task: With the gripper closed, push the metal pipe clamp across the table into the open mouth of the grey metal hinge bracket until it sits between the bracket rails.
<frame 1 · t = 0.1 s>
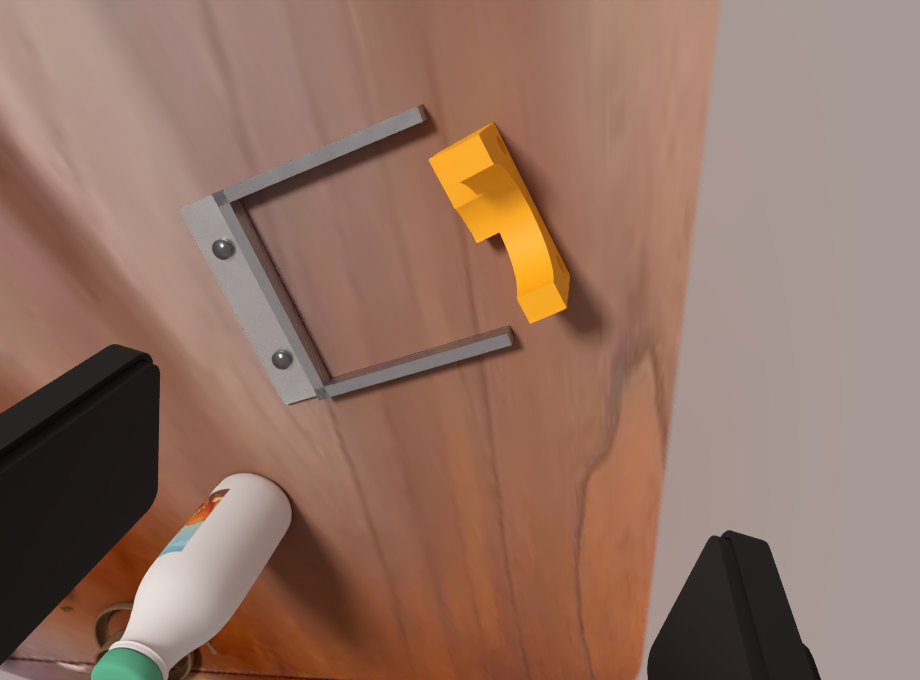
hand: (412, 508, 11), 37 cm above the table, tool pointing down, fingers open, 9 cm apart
place setting: (134, 607, 73), on the table
hinge bracket: (368, 264, 50), on the table
pipe clamp: (506, 214, 47), on the table
milk bottle: (257, 502, 62), on the table
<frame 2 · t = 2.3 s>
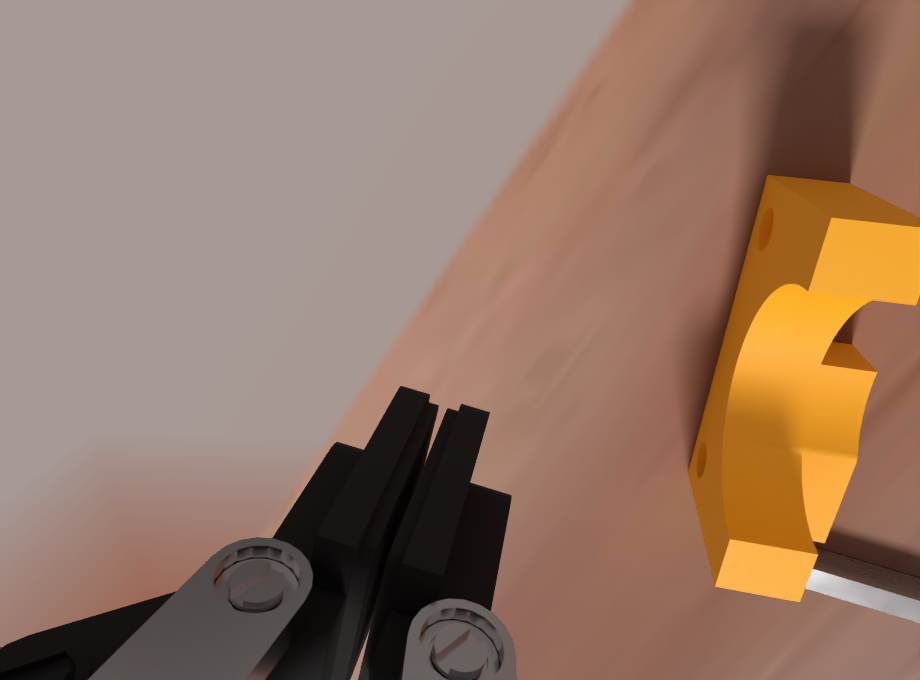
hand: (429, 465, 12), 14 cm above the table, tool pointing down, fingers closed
pipe clamp: (782, 343, 24), on the table
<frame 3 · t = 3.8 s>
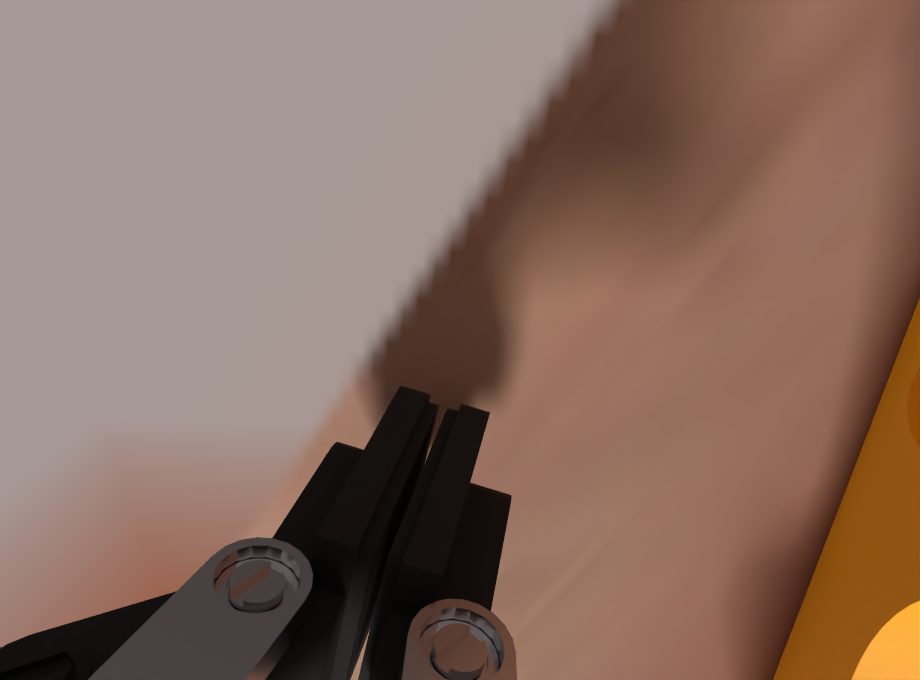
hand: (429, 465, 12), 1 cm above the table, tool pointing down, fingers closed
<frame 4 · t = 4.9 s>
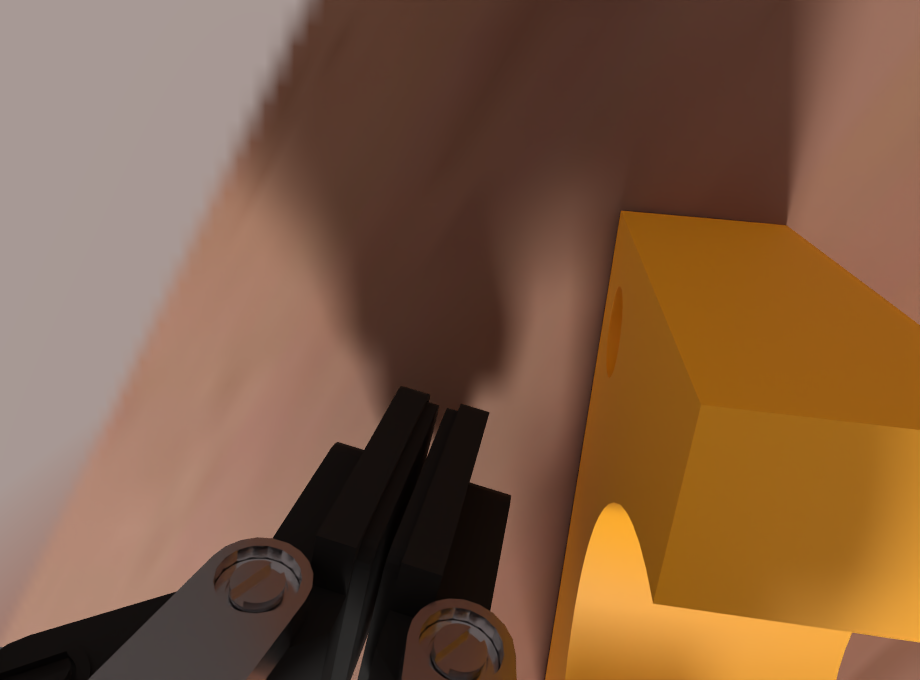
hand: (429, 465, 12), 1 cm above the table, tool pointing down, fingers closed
pipe clamp: (682, 516, 13), on the table, touching gripper
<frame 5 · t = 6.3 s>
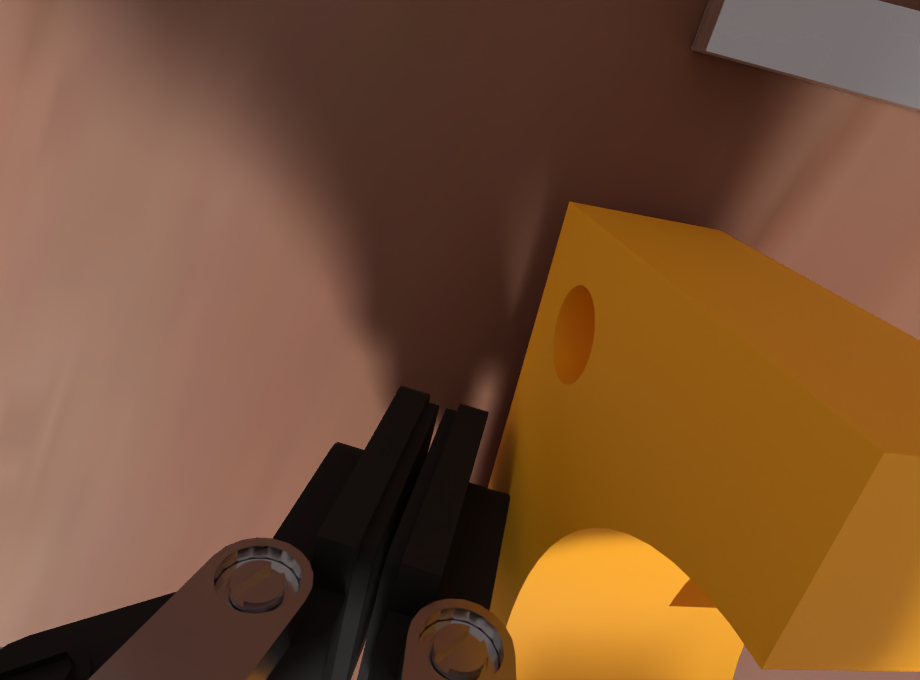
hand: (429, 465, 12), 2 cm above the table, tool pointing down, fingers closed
pipe clamp: (583, 516, 13), point 1 cm above the table, touching gripper
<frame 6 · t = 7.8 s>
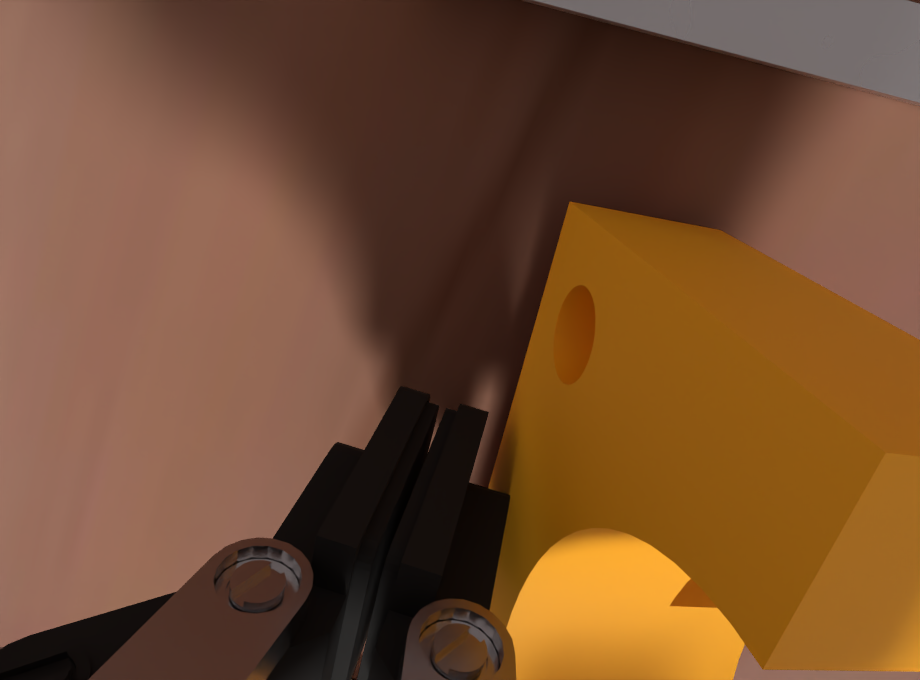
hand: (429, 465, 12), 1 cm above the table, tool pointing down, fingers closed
hinge bracket: (748, 534, 13), on the table
pipe clamp: (583, 516, 13), on the table, touching gripper
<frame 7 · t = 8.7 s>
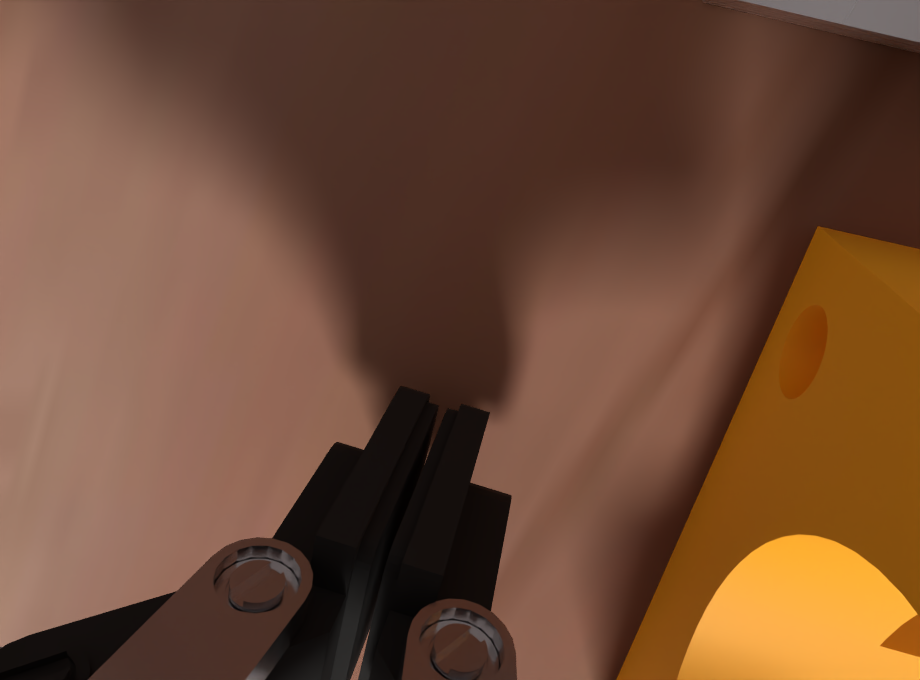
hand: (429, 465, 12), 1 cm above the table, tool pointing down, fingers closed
pipe clamp: (794, 543, 13), on the table
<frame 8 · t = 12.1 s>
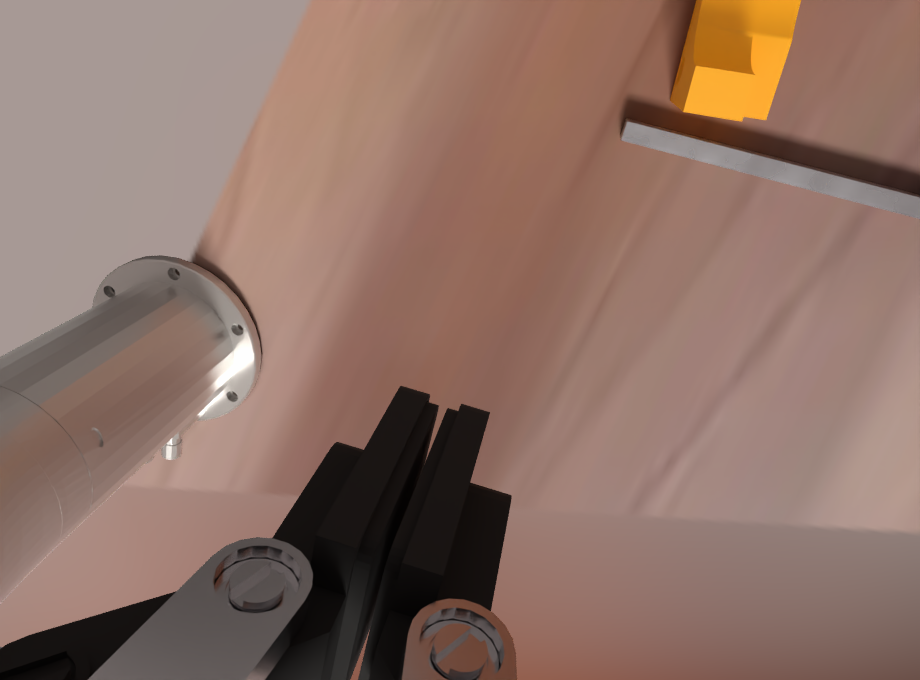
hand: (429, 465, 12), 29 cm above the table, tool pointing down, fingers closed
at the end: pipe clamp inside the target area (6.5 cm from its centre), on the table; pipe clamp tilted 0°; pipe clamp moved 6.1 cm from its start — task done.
